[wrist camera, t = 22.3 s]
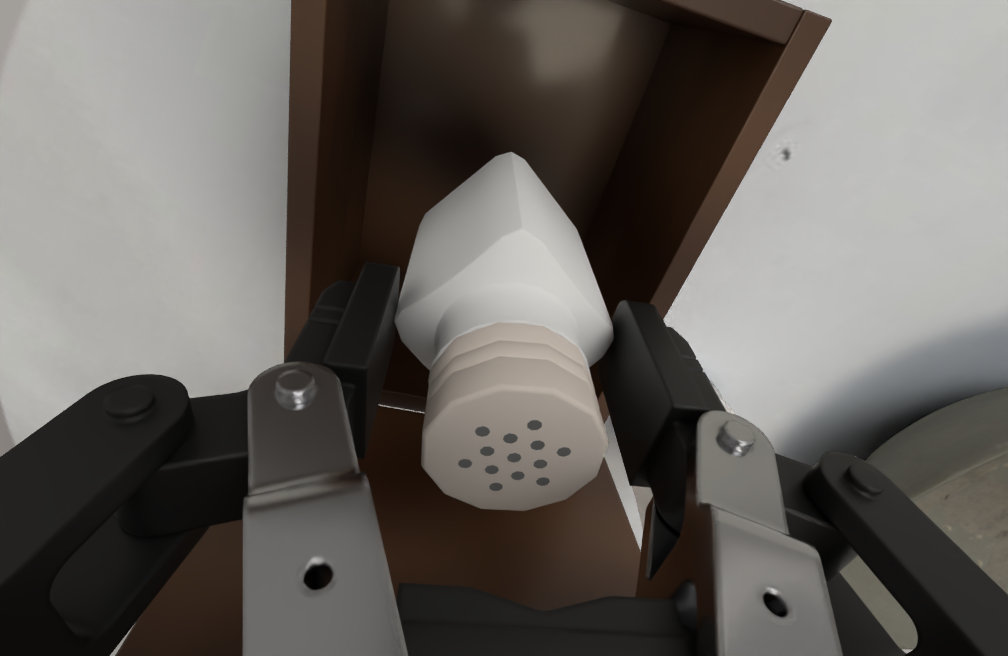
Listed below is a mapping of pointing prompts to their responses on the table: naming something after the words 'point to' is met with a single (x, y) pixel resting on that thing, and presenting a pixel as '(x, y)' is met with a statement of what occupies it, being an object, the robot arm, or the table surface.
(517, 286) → the pepper shaker
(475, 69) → the compartment
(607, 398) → the robot arm
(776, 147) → the table surface
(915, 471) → the bowl
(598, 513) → the lid
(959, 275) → the table surface
